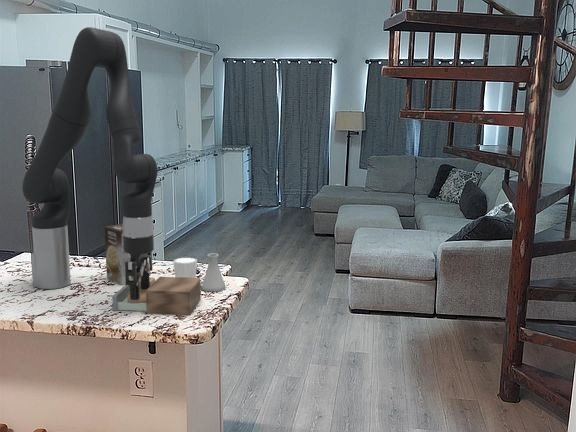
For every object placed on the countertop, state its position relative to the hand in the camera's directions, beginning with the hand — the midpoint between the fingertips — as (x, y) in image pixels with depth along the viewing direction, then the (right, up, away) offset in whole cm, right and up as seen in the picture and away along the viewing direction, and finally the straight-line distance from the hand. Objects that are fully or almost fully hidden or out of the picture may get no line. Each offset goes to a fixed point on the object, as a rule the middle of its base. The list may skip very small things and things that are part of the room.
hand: (140, 294), depth 149 cm
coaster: (0, -2, 0) cm, 2 cm away
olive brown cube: (-1, -1, +11) cm, 12 cm away
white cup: (+8, 0, +20) cm, 21 cm away
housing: (+9, -3, 0) cm, 9 cm away
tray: (0, -3, +1) cm, 3 cm away
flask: (+17, -1, +15) cm, 23 cm away
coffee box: (-11, +1, +22) cm, 24 cm away
